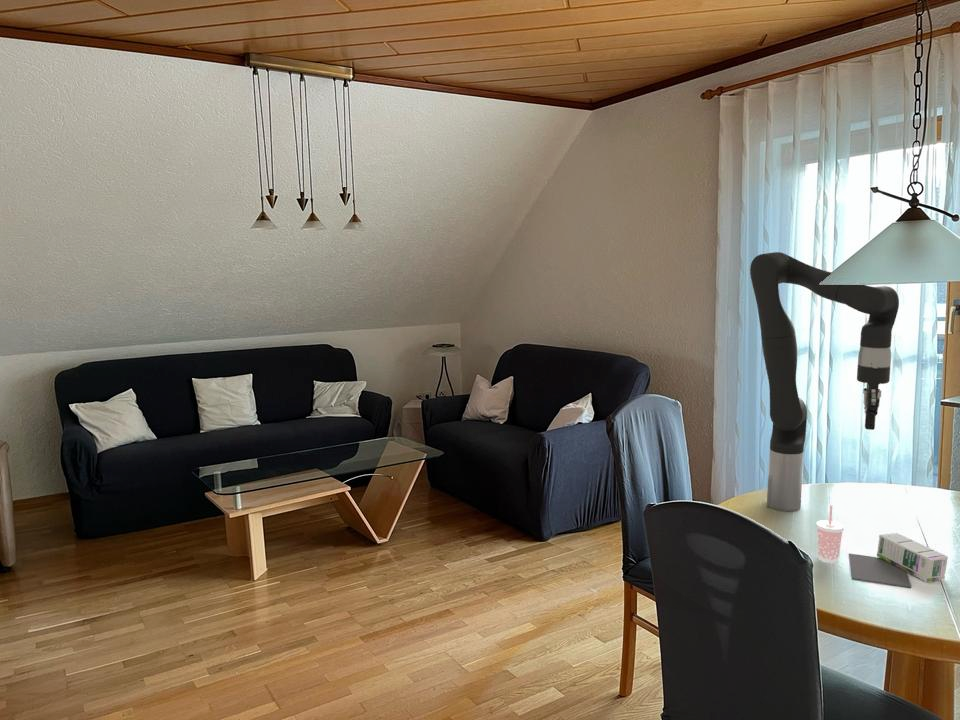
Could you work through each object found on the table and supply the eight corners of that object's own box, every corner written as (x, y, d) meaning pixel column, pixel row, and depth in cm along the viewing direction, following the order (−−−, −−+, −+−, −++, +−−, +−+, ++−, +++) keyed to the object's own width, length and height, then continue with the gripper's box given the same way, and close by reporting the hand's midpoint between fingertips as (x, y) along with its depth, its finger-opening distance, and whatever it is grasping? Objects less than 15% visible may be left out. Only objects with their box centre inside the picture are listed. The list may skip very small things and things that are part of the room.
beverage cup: (815, 552, 186) (818, 499, 184) (842, 556, 183) (845, 503, 181) (813, 561, 181) (816, 507, 179) (841, 566, 178) (844, 511, 176)
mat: (851, 579, 171) (851, 577, 171) (848, 554, 185) (848, 553, 185) (911, 588, 166) (911, 586, 166) (903, 562, 180) (903, 560, 180)
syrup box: (878, 534, 181) (929, 559, 168) (897, 532, 183) (949, 556, 169) (875, 556, 182) (926, 582, 169) (894, 553, 184) (946, 580, 170)
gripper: (856, 359, 198) (852, 422, 201) (859, 367, 186) (855, 433, 189) (888, 360, 195) (883, 424, 198) (893, 368, 183) (888, 436, 186)
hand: (869, 428), depth 193 cm, fingers closed
